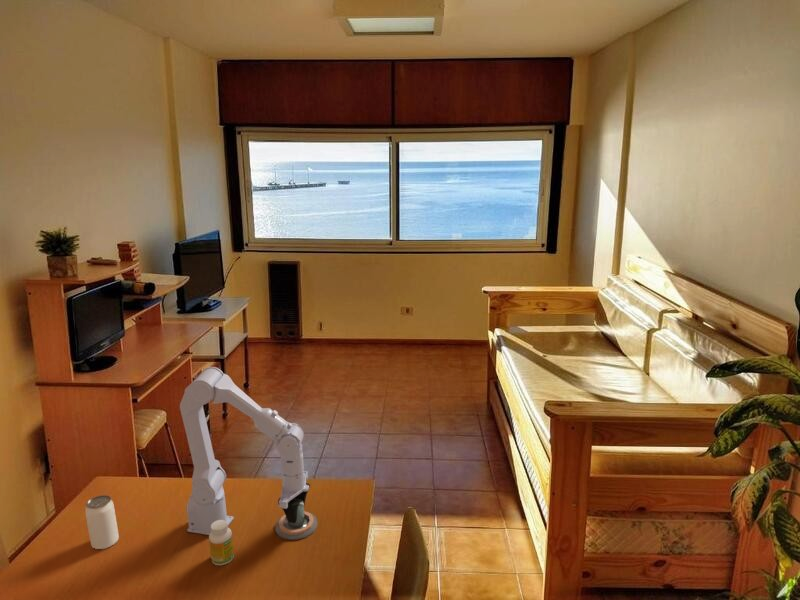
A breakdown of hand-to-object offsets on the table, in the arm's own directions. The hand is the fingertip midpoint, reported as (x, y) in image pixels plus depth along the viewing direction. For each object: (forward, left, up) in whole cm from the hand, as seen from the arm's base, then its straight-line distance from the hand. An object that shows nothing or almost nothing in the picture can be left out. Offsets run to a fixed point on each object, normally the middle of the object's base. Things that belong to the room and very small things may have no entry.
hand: (295, 515), depth 154 cm
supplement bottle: (-13, -16, -3) cm, 21 cm away
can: (-46, -16, -3) cm, 49 cm away
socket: (0, 0, -3) cm, 3 cm away
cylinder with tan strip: (0, 0, -2) cm, 2 cm away
